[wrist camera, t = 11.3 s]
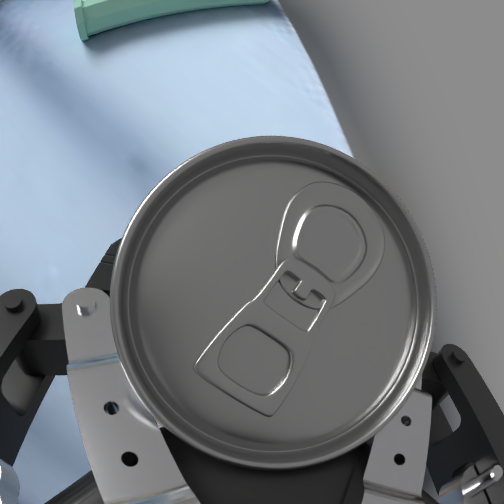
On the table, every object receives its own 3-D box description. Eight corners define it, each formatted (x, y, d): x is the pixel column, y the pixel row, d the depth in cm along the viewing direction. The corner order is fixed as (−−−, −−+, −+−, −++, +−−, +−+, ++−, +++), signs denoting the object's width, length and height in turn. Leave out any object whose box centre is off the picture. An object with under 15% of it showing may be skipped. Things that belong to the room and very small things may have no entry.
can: (307, 301, 17) (482, 254, 5) (241, 398, 15) (335, 531, 4) (212, 232, 17) (247, 66, 5) (140, 328, 15) (13, 335, 4)
